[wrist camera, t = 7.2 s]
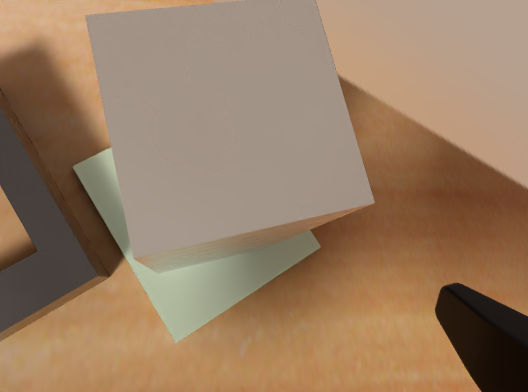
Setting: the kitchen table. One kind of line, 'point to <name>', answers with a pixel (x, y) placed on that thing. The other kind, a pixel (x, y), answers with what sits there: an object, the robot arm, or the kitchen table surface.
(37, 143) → the kitchen table surface
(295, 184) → the grey tall rectangular block
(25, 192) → the dark grey flat frame
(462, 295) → the robot arm
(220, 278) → the green mat
